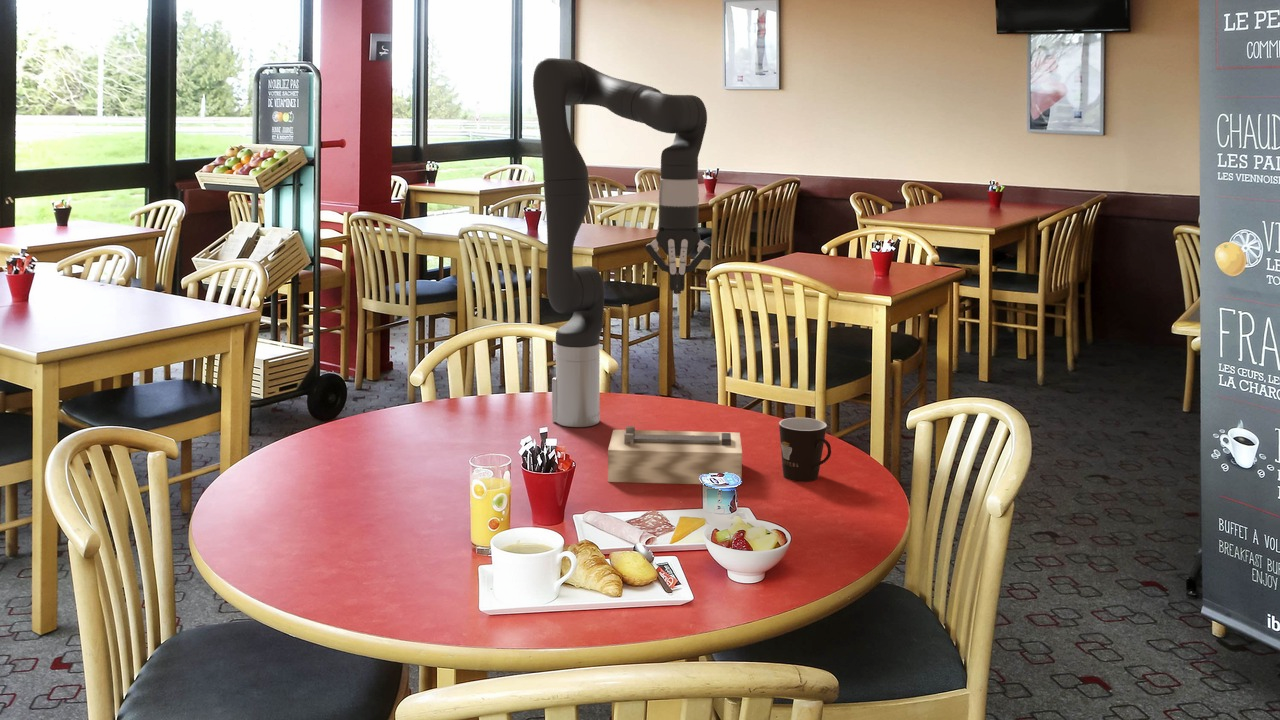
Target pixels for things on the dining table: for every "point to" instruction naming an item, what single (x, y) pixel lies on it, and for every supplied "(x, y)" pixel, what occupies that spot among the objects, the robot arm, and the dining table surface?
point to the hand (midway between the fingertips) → (677, 293)
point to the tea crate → (671, 457)
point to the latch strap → (676, 438)
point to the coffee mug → (802, 448)
